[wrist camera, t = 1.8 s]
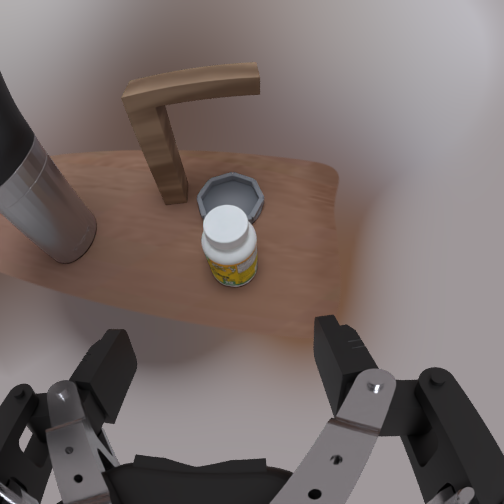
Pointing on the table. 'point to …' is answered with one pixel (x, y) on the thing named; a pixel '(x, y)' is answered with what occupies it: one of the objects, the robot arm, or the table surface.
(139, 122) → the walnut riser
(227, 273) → the supplement bottle
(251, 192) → the locator ring
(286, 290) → the table surface
